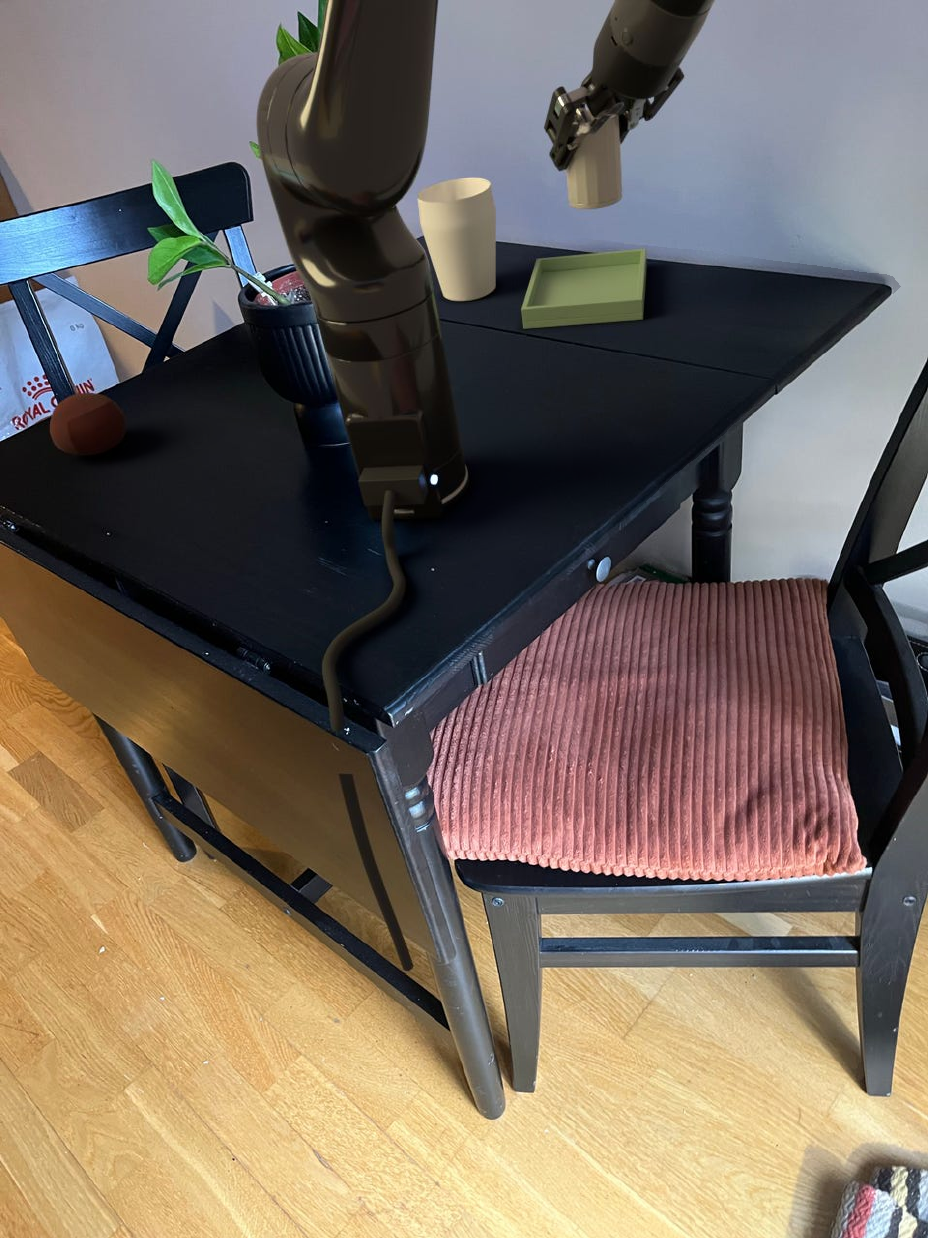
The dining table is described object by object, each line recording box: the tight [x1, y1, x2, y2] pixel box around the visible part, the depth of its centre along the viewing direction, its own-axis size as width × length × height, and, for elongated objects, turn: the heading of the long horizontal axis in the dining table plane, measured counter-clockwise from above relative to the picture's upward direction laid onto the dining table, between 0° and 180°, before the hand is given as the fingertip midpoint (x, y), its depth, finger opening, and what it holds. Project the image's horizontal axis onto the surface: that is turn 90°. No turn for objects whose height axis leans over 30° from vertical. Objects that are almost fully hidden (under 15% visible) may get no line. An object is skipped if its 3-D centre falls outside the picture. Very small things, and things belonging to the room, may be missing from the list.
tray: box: [520, 248, 648, 330], centre depth 106 cm, size 15×13×2 cm
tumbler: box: [565, 109, 623, 210], centre depth 93 cm, size 6×6×8 cm
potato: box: [49, 392, 127, 457], centre depth 95 cm, size 7×8×6 cm
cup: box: [416, 177, 497, 302], centre depth 110 cm, size 9×9×12 cm
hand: (582, 154), depth 94 cm, fingers closed on tumbler, 5 cm apart
